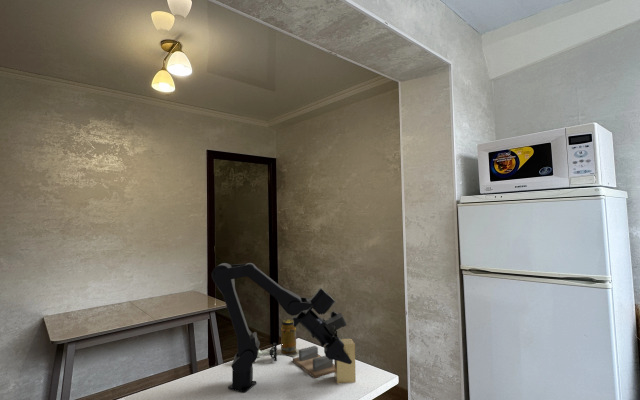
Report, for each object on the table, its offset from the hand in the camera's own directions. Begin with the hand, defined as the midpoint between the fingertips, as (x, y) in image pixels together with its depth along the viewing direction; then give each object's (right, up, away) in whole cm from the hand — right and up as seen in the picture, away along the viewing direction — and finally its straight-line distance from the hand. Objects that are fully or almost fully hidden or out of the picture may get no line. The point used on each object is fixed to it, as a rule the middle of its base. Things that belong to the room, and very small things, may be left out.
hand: (348, 357), depth 107 cm
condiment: (-21, -9, +22) cm, 32 cm away
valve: (-32, -9, +13) cm, 35 cm away
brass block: (-1, -7, -1) cm, 7 cm away
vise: (-11, -8, +10) cm, 16 cm away
